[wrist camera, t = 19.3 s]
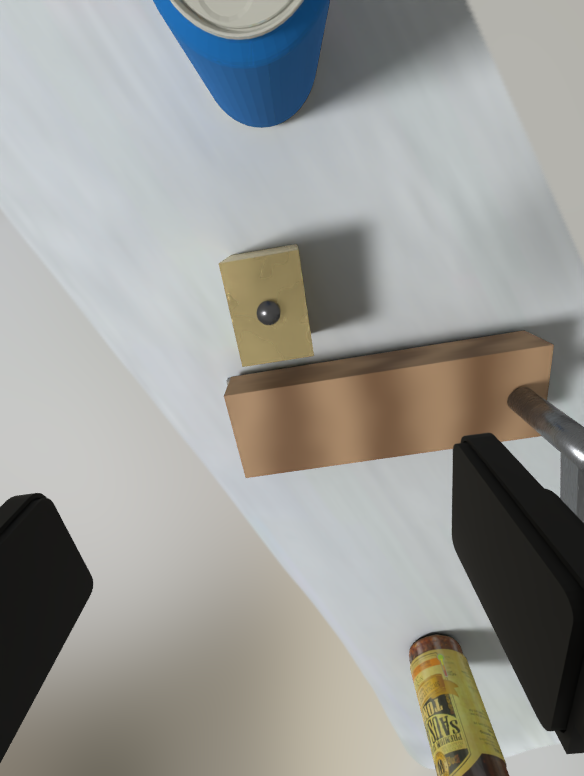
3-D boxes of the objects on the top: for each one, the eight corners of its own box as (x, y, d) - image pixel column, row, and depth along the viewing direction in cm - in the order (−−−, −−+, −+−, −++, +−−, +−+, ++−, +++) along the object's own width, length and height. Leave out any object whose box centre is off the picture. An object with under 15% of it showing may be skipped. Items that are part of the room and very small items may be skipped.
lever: (501, 392, 26) (581, 457, 19) (538, 382, 26) (632, 446, 19) (512, 557, 32) (574, 652, 25) (541, 551, 32) (612, 646, 25)
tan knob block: (296, 243, 26) (298, 250, 21) (309, 333, 29) (314, 358, 24) (230, 255, 26) (217, 264, 21) (249, 343, 29) (241, 369, 24)
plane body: (525, 327, 28) (559, 343, 25) (517, 409, 31) (548, 435, 28) (226, 374, 30) (218, 397, 26) (245, 449, 33) (240, 478, 29)
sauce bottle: (419, 626, 42) (516, 931, 24) (469, 636, 43) (600, 938, 25) (396, 661, 45) (468, 960, 27) (443, 669, 46) (545, 966, 28)
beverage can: (330, 10, 21) (376, -216, 10) (300, 144, 23) (310, 81, 13) (213, -31, 20) (125, -321, 9) (195, 112, 23) (110, 16, 12)
